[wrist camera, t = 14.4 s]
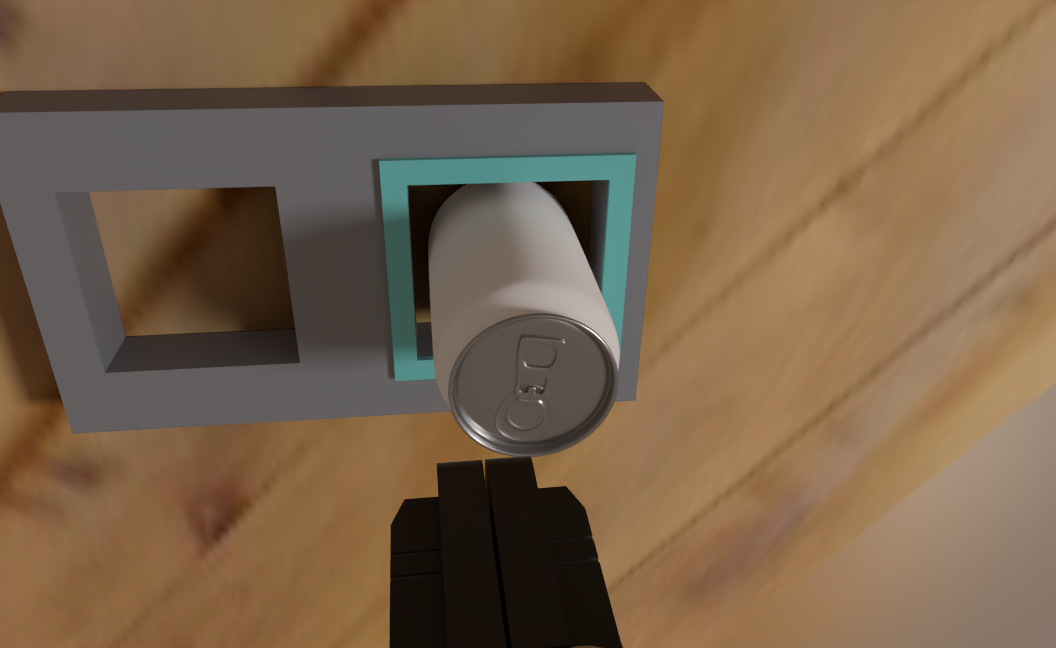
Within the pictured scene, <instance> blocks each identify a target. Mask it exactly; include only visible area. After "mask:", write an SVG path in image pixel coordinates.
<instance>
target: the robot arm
mask: <svg viewBox="0 0 1056 648" xmlns="http://www.w3.org/2000/svg"><path fill="white" fill-rule="evenodd" d="M437 478H438V496H439V497H428V498H416V499H405V500H404V502H403V503H402V505H401V507H400V509H399V511H398V513H397V515H396V516H395V518H394V520H393V522H392V524H391V559H390V578H391V582H390V648H623V647H622V644H621V641H620V637H619V634H618V630H617V626H616V622H615V619H614V615H613V611H612V607H611V604H610V600H609V596H608V592H607V589H606V585H605V581H604V577H603V574H602V570H601V566H600V562H598V555H597V551H596V547H595V543H594V540H593V539H592V532H591V528H590V525H589V521H588V517H587V513H586V510H585V508H584V506H583V505H582V504H581V503H580V502H579V501H578V500H577V498H576V497H575V496H574V495H573V494H572V493H571V491H570V490H569V489H568V488H567V487H566V486H562V487H549V488H538V487H537V482H536V477H535V472H534V467H533V463H532V459H531V457H530V456H525V457H511V458H498V459H486V460H485V478H484V470H483V463H482V460H475V461H461V462H448V463H437Z"/></svg>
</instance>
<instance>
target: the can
mask: <svg viewBox="0 0 1056 648" xmlns="http://www.w3.org/2000/svg"><path fill="white" fill-rule="evenodd" d="M428 262H429V286H430V307H431V326H432V344H433V359H434V369H435V375H436V380H437V384H438V387H439V390H440V392H441V395H442V397H443V399H444V400H445V402H446V403H447V405H448V406H449V408H450V409H451V411H452V413H453V416H454V418H455V420H456V422H457V423H458V425H459V426H460V428H461V429H462V430H463V431H464V432H465V433H466V434H467V435H468V436H469V437H470V438H471V439H472V440H473V441H475V442H476V443H478V444H479V445H481V446H483V447H485V448H487V449H489V450H491V451H494V452H496V453H500V454H503V455H508V456H514V457H525V456H530V457H538V456H545V455H549V454H553V453H557V452H560V451H563V450H565V449H567V448H570V447H572V446H574V445H576V444H577V443H579V442H581V441H582V440H584V439H585V438H586V437H588V436H589V435H590V434H591V433H593V432H594V431H595V430H596V429H597V428H598V427H599V426H600V425H601V423H602V422H603V421H604V420H605V418H606V417H607V415H608V414H609V412H610V410H611V408H612V406H613V404H614V401H615V398H616V394H617V390H618V368H619V360H620V348H619V341H618V336H617V332H616V329H615V326H614V324H613V321H612V318H611V316H610V313H609V311H608V308H607V306H606V303H605V301H604V299H603V296H602V294H601V292H600V289H599V287H598V285H597V282H596V280H595V278H594V275H593V273H592V271H591V268H590V266H589V264H588V261H587V259H586V257H585V254H584V252H583V250H582V247H581V245H580V243H579V241H578V238H577V236H576V234H575V231H574V229H573V227H572V225H571V223H570V220H569V218H568V216H567V214H566V212H565V210H564V209H563V207H562V206H561V204H560V203H559V201H558V200H557V199H556V198H555V197H554V196H553V195H552V194H551V193H550V192H549V191H547V190H546V189H545V188H543V187H542V186H540V185H538V184H536V183H534V182H511V183H476V184H466V185H465V186H463V187H461V188H460V189H458V190H457V191H455V192H454V193H453V194H452V195H451V196H450V197H449V198H448V199H447V200H446V201H445V202H444V203H443V204H442V206H441V207H440V208H439V210H438V212H437V213H436V215H435V217H434V220H433V222H432V225H431V228H430V233H429V240H428Z"/></svg>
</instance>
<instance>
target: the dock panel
mask: <svg viewBox="0 0 1056 648" xmlns="http://www.w3.org/2000/svg"><path fill="white" fill-rule="evenodd" d="M663 108H664V101H663V100H662V99H661V98H660V97H659V96H658V95H657V94H656V93H655V92H654V91H653V90H652V89H651V88H650V87H649V86H648V85H647V84H646V83H645V82H643V83H573V84H504V85H434V86H364V87H295V88H225V89H155V90H85V91H16V92H6V93H4V94H2V95H1V96H0V205H1V208H2V211H3V214H4V217H5V220H6V224H7V227H8V230H9V233H10V236H11V240H12V243H13V246H14V249H15V252H16V255H17V259H18V262H19V265H20V268H21V271H22V275H23V278H24V281H25V284H26V287H27V290H28V294H29V297H30V300H31V303H32V306H33V309H34V313H35V316H36V319H37V322H38V325H39V329H40V332H41V335H42V338H43V341H44V344H45V348H46V351H47V354H48V357H49V360H50V364H51V367H52V370H53V373H54V376H55V379H56V383H57V386H58V389H59V392H60V395H61V399H62V402H63V405H64V408H65V411H66V414H67V418H68V421H69V424H70V427H71V430H72V433H90V432H107V431H124V430H141V429H158V428H175V427H192V426H209V425H226V424H243V423H260V422H277V421H294V420H311V419H328V418H345V417H362V416H379V415H396V414H413V413H430V412H447V411H451V409H450V408H449V406H448V405H447V403H446V402H445V400H444V399H443V397H442V395H441V392H440V390H439V387H438V384H437V380H436V375H435V369H434V359H433V344H432V326H431V323H416V305H415V288H414V270H413V253H412V235H411V218H410V200H409V185H440V184H476V183H511V182H547V181H583V180H593V181H592V198H591V216H590V234H589V251H588V264H589V266H590V268H591V271H592V273H593V275H594V278H595V280H596V282H597V285H598V287H599V289H600V292H601V294H602V296H603V299H604V301H605V303H606V306H607V308H608V311H609V313H610V316H611V318H612V321H613V324H614V326H615V329H616V332H617V336H618V341H619V348H620V360H619V368H618V390H617V394H616V398H615V401H614V402H617V401H634V400H635V399H636V388H637V378H638V368H639V357H640V347H641V336H642V326H643V316H644V305H645V295H646V285H647V274H648V264H649V253H650V243H651V233H652V222H653V212H654V202H655V191H656V181H657V170H658V160H659V150H660V139H661V129H662V119H663ZM269 186H275V188H276V195H277V202H278V209H279V217H280V224H281V231H282V238H283V245H284V252H285V259H286V266H287V274H288V281H289V288H290V295H291V302H292V309H293V316H294V324H295V329H283V330H261V331H240V332H218V333H197V334H176V335H154V336H133V337H125V333H124V329H123V325H122V321H121V317H120V313H119V310H118V306H117V302H116V298H115V294H114V290H113V286H112V282H111V278H110V275H109V271H108V267H107V263H106V259H105V255H104V251H103V247H102V243H101V240H100V236H99V232H98V228H97V224H96V220H95V216H94V212H93V208H92V205H91V201H90V197H89V193H88V191H124V190H160V189H197V188H233V187H269Z"/></svg>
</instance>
